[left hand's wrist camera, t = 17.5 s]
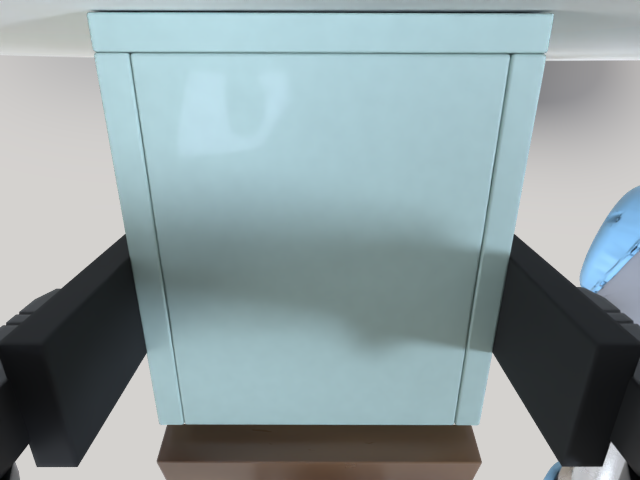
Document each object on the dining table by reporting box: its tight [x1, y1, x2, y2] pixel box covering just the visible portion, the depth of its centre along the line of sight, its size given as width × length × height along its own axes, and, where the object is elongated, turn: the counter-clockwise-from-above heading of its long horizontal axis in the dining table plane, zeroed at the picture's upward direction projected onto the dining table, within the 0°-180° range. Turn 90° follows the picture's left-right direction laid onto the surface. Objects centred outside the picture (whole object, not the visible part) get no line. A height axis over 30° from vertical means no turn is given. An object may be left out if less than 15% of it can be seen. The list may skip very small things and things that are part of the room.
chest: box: [87, 12, 554, 425], centre depth 18 cm, size 17×9×10 cm, turn 0°
